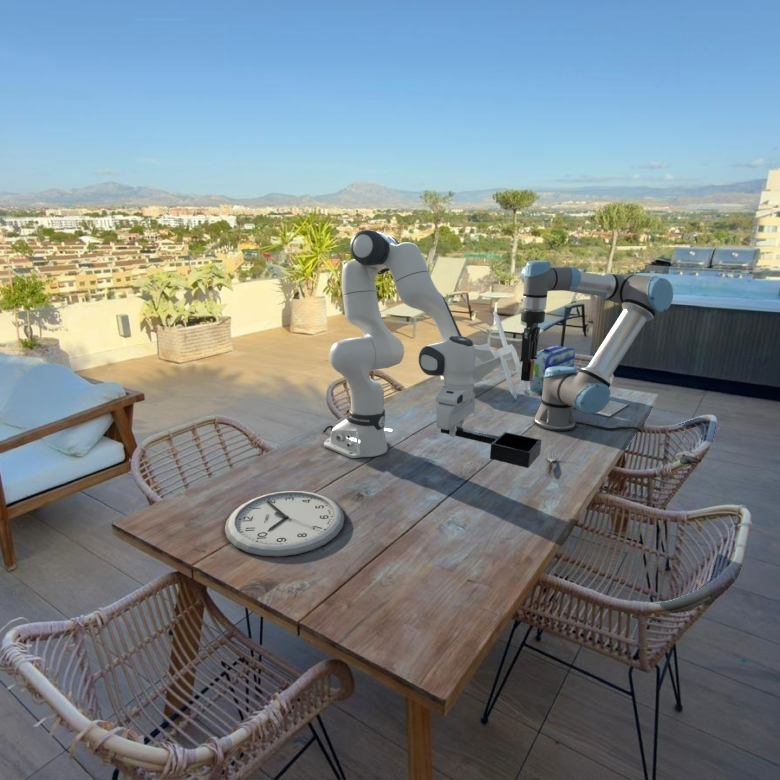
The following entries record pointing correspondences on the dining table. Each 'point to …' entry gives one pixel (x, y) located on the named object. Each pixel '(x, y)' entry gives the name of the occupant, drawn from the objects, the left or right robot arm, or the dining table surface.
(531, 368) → the peg
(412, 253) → the left robot arm
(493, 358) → the white plastic object
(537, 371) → the lunch box
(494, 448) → the pan
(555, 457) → the fork
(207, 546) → the dining table surface
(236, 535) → the wall clock
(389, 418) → the dining table surface
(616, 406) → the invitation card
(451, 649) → the dining table surface
